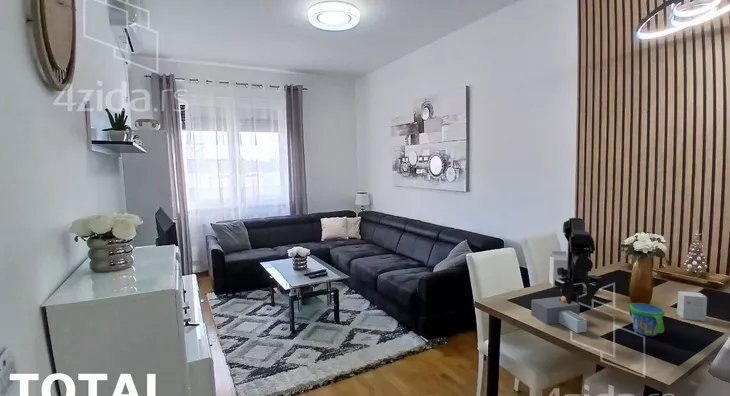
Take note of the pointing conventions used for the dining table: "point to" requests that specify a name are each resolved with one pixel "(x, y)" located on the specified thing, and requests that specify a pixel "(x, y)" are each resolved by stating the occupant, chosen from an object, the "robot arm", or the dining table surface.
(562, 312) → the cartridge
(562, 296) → the plunger
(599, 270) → the dining table surface
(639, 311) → the snack cup
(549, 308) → the block
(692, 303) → the small box
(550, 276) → the milk carton
